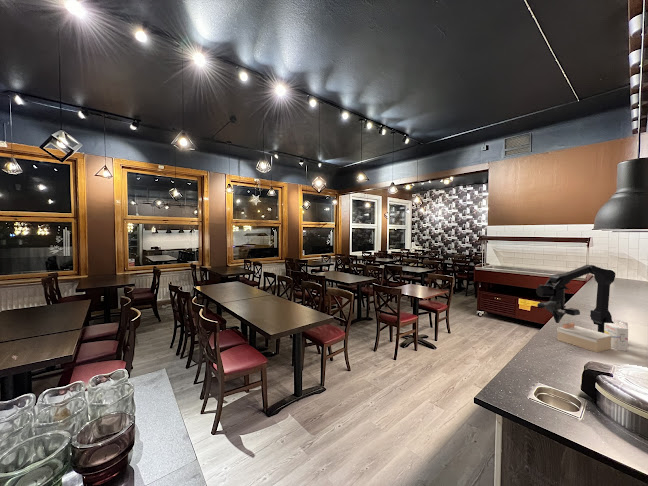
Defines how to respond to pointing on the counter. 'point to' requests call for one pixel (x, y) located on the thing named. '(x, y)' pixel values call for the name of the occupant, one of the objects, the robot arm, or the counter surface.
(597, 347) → the wooden box
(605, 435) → the counter surface
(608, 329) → the ink cartridge box
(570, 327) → the lid
